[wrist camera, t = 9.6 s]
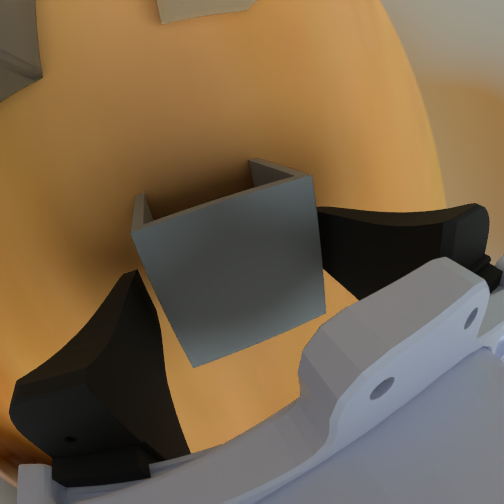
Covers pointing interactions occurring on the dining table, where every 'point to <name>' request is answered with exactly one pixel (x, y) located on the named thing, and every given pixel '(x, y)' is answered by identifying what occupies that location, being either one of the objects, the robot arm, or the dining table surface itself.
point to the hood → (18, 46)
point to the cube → (198, 8)
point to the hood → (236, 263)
